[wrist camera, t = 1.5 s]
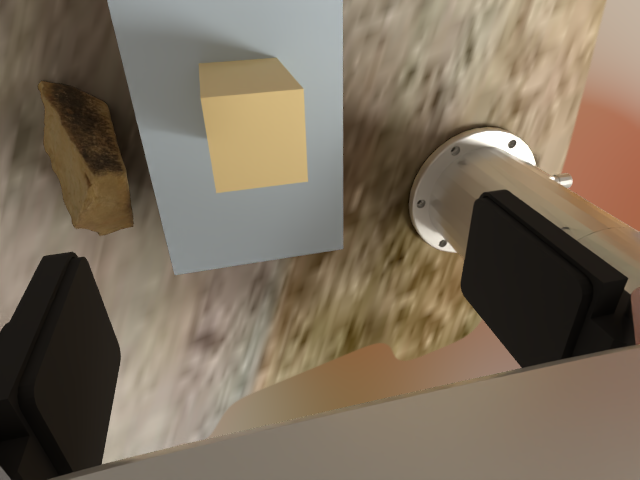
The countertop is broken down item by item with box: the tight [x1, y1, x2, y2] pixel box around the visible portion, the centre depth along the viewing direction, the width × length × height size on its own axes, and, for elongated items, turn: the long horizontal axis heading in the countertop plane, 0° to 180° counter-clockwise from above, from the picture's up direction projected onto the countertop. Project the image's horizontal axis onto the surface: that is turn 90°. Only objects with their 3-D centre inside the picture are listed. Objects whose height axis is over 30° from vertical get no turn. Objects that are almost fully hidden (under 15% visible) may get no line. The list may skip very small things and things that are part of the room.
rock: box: [38, 81, 134, 236], centre depth 31 cm, size 11×9×10 cm
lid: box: [107, 0, 343, 275], centre depth 22 cm, size 11×21×8 cm, turn 2°
